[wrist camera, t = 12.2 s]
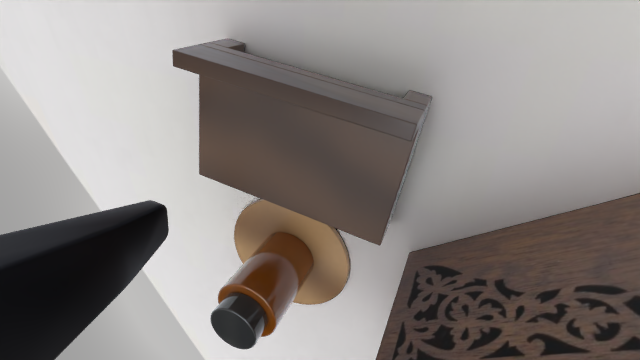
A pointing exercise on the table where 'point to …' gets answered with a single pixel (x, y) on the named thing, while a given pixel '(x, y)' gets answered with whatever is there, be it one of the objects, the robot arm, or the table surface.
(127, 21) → the table surface
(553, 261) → the tissue box cover
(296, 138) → the spice shelf
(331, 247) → the cork coaster
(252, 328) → the spice bottle
